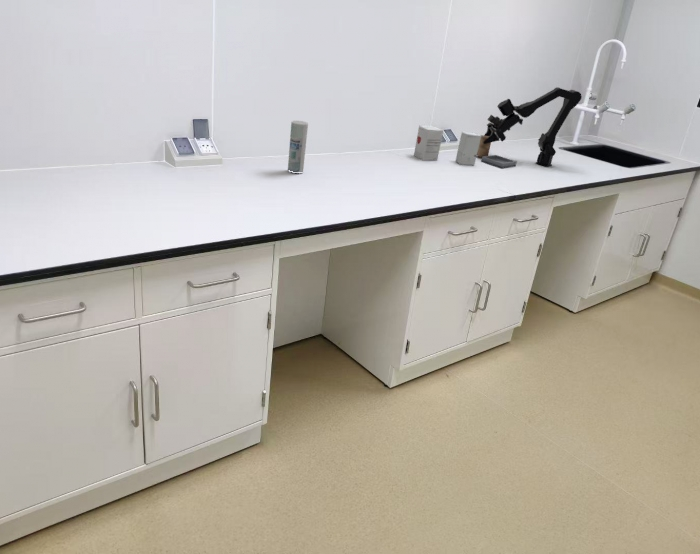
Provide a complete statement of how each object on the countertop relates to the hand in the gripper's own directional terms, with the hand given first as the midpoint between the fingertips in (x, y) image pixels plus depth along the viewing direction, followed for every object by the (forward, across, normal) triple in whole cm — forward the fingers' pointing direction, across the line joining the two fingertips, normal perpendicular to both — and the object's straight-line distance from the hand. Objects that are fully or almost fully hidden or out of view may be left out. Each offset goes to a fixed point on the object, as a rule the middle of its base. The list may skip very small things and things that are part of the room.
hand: (482, 141), depth 301 cm
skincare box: (+14, +17, -2) cm, 22 cm away
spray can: (+72, +65, -61) cm, 115 cm away
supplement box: (+28, +16, -16) cm, 36 cm away
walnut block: (+4, 0, +6) cm, 7 cm away
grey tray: (0, +10, +11) cm, 15 cm away
